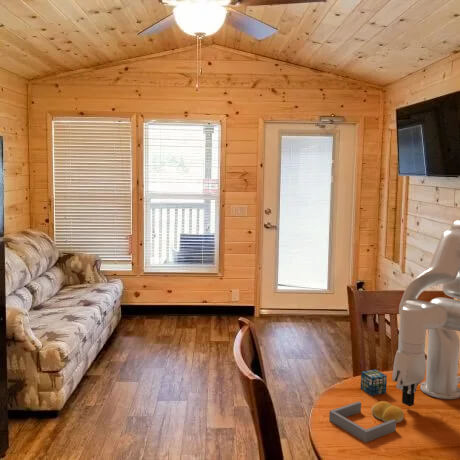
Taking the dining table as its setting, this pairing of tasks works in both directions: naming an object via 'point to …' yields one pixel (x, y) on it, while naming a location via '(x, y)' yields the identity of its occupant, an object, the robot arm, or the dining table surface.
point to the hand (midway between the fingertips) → (407, 404)
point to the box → (365, 435)
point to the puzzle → (373, 382)
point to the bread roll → (387, 412)
